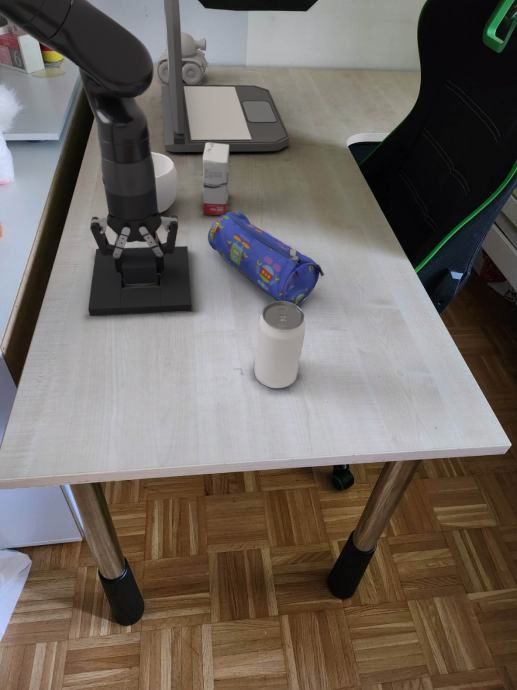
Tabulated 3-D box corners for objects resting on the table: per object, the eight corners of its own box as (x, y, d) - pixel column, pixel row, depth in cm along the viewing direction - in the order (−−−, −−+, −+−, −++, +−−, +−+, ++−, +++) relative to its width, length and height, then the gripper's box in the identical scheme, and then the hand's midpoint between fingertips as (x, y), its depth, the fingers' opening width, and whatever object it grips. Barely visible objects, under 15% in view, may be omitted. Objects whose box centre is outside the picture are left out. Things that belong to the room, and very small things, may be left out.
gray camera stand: (291, 154, 128) (307, 7, 106) (165, 155, 124) (154, 2, 101) (266, 95, 155) (275, -33, 132) (161, 94, 150) (152, -39, 127)
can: (252, 388, 75) (258, 329, 67) (255, 356, 80) (260, 296, 71) (297, 391, 75) (308, 333, 67) (296, 359, 80) (306, 300, 71)
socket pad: (89, 315, 84) (88, 309, 83) (97, 255, 95) (96, 248, 94) (191, 311, 86) (191, 304, 85) (187, 252, 97) (187, 246, 96)
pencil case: (320, 299, 90) (329, 255, 83) (285, 320, 86) (291, 274, 79) (239, 241, 101) (241, 197, 94) (204, 256, 97) (204, 211, 90)
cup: (190, 214, 107) (188, 170, 100) (136, 231, 101) (131, 186, 94) (160, 188, 113) (156, 145, 106) (108, 203, 107) (101, 159, 100)
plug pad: (124, 284, 87) (121, 268, 84) (125, 264, 91) (123, 248, 88) (157, 283, 88) (155, 267, 85) (157, 263, 91) (155, 247, 89)
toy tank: (209, 75, 163) (209, 29, 154) (206, 88, 156) (205, 40, 146) (162, 72, 163) (159, 25, 153) (156, 84, 155) (153, 35, 146)
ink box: (226, 216, 107) (227, 162, 98) (202, 215, 107) (202, 160, 98) (228, 195, 113) (230, 142, 104) (206, 193, 113) (205, 141, 104)
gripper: (177, 168, 80) (182, 257, 92) (82, 169, 78) (99, 260, 90) (179, 193, 75) (183, 284, 87) (77, 194, 73) (96, 287, 85)
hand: (140, 271), depth 89 cm, fingers closed on plug pad, 5 cm apart
